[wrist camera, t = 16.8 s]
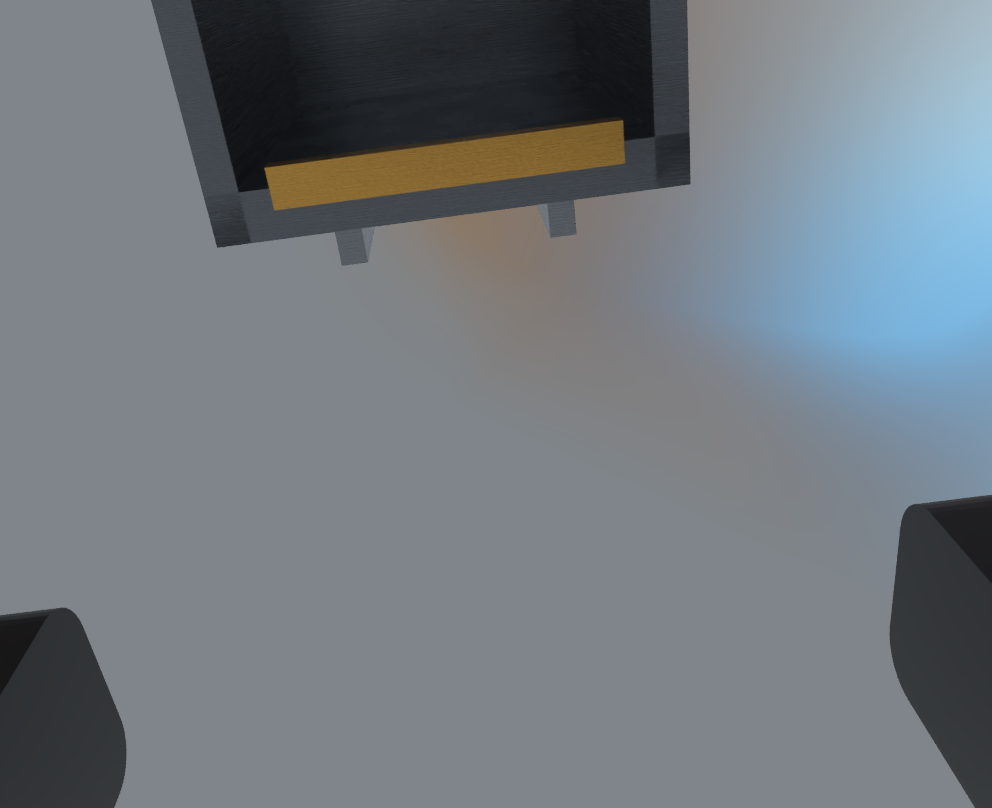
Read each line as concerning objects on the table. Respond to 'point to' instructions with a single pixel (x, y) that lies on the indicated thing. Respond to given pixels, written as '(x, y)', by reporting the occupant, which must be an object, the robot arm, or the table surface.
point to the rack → (423, 109)
